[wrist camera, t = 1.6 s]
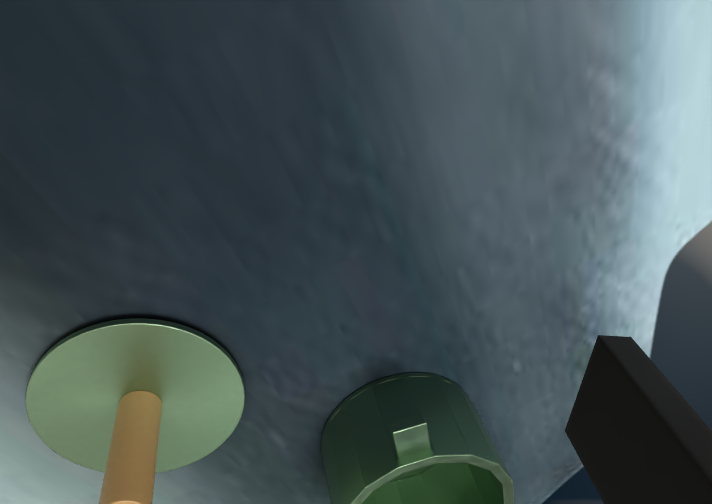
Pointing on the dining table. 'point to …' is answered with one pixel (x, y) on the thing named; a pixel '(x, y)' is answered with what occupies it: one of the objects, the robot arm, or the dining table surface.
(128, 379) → the lid
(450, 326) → the dining table surface
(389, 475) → the pot
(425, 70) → the dining table surface
